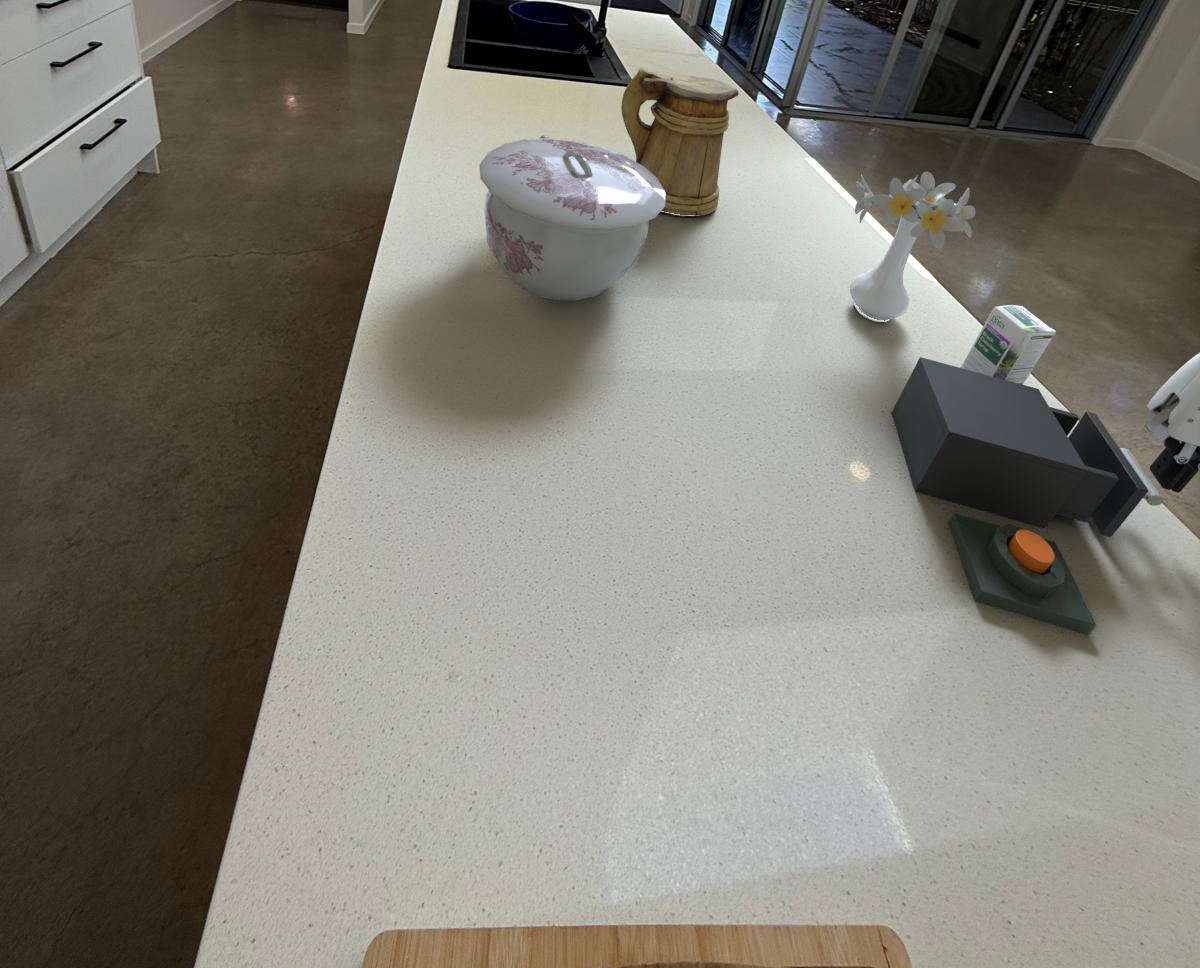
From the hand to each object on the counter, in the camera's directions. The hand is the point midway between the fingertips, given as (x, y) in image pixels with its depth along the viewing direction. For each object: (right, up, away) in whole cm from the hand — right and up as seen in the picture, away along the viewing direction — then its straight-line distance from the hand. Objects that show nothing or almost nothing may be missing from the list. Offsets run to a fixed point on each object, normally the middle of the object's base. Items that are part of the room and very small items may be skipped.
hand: (1163, 480), depth 77 cm
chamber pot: (-73, +21, +25) cm, 80 cm away
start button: (-22, -3, -10) cm, 25 cm away
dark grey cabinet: (-21, 0, +4) cm, 22 cm away
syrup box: (-12, +4, +17) cm, 21 cm away
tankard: (-54, +32, +57) cm, 85 cm away
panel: (-23, -6, -8) cm, 25 cm away
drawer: (-12, -2, +3) cm, 12 cm away
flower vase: (-22, +13, +32) cm, 41 cm away
